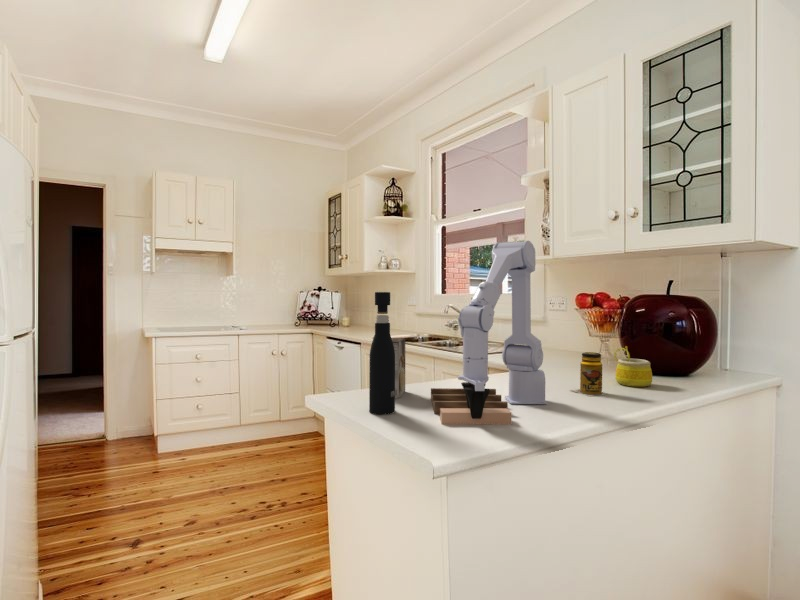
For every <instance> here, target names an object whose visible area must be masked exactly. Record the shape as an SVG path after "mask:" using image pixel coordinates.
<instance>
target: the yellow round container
mask: <svg viewBox="0 0 800 600" xmlns="http://www.w3.org/2000/svg"><path fill="white" fill-rule="evenodd" d="M621 350H623V352H622V351H621ZM617 352H618V353H619V354H617ZM621 352H622V353H621ZM625 352H626V354H627V355H624V354H625ZM617 357H620V358H619V359H617ZM625 357H627V358H625ZM614 359H615V361H616V362H617V365H616V369H615V376H614V377H615V382H617V383H618V384H620V385H622V386H626V387H632V388H634V387H635V388H645V387H650V386H651V385H652V383H653V372H652V368H651V364H652V363H651V361H649V360H646V359H640V358H631V356H630V352H629V351H628V346H627V345H625V346H624V347H619V348H617V349H616V350H615V351H614Z"/></svg>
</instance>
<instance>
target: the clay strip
mask: <svg viewBox="0 0 800 600" xmlns="http://www.w3.org/2000/svg"><path fill="white" fill-rule="evenodd" d="M439 420H440V423H441V425H512V411H510V409H507V408H483V413H482V417H481V419H472V417H471V413H470V408H440V414H439Z"/></svg>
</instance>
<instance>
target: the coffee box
mask: <svg viewBox="0 0 800 600" xmlns="http://www.w3.org/2000/svg"><path fill="white" fill-rule="evenodd" d="M391 339H392V342H393V345H394V350H395V399H396V398H397V399H398V398H400V397H401V396H402V395H403V394H404V393H405V392H406V337H404V338H403V337H401V338H400V337H391Z"/></svg>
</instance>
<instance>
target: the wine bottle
mask: <svg viewBox="0 0 800 600" xmlns="http://www.w3.org/2000/svg"><path fill="white" fill-rule="evenodd" d="M374 306H377V312H376V314H377V315H376V317H375V319H376V320H375V323H374V336H373V339H372V342H371V346H370V350H369V376H368V377H369V382H368V383H369V386H368V387H369V392H368V393H369V396H368V397H369V398H368V399H369V400H368V401H369V404H368V405H369V409H368V410H369V411H368V412H369V413H370V414H372V415H377V416H378V415H379V416H385V415H391V414H394V413H395V412H396V398H395V350H394V345H393V342H392V339H391V338H392V336H391V323H390V322H389V321H390V317H389V315H387V314H388V311H389V310H388V309H389V308H388V306H391V292H390V291H375V292H374Z"/></svg>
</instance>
